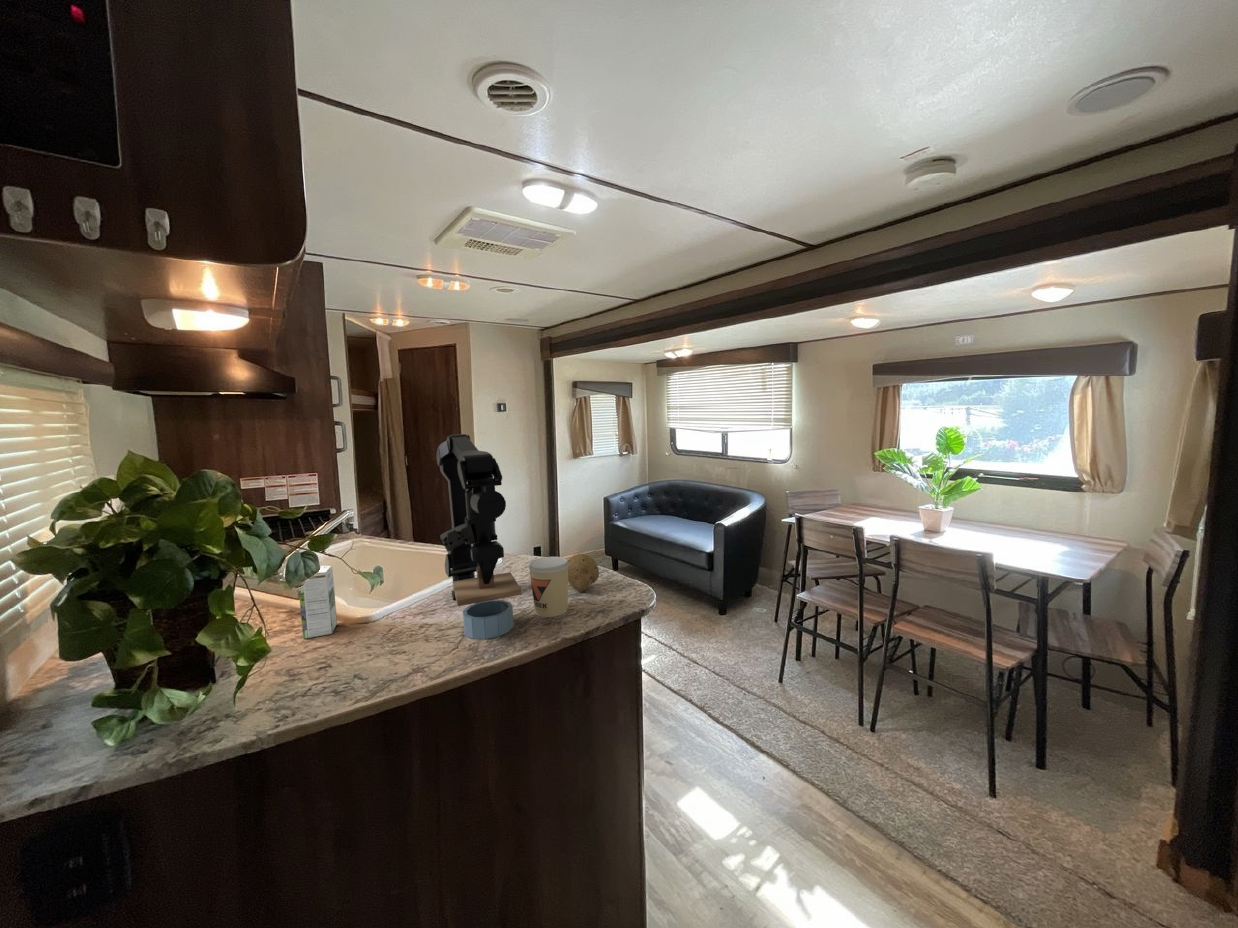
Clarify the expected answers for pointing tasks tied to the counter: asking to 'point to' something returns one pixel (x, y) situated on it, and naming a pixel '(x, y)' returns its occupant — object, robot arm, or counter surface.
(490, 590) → the cover board
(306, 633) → the syrup box
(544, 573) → the coffee cup
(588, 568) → the natural sponge
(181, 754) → the counter surface
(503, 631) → the bowl
